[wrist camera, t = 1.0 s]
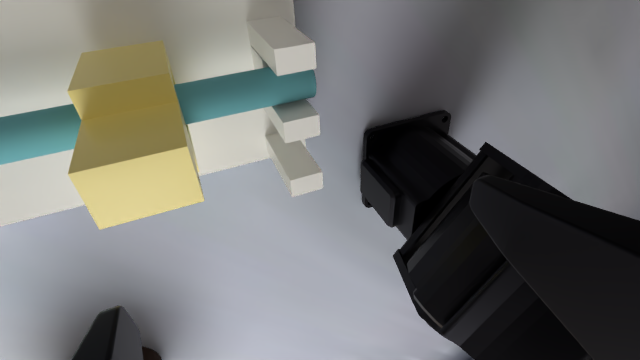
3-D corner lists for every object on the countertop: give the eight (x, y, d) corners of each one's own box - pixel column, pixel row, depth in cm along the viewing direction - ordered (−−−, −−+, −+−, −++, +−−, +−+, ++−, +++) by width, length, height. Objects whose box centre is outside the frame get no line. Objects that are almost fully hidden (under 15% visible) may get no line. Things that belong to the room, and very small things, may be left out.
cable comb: (279, -78, 16) (329, -72, 12) (300, 140, 23) (336, 192, 19) (-542, -11, 10) (-1020, 47, 6) (-184, 260, 17) (-290, 376, 12)
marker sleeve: (162, 40, 15) (177, 114, 10) (188, 126, 18) (212, 224, 12) (81, 52, 14) (48, 140, 9) (120, 141, 17) (112, 253, 11)
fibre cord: (284, 20, 17) (325, 50, 14) (291, 91, 20) (328, 135, 16) (-398, 125, 12) (-654, 229, 8) (-278, 211, 14) (-434, 325, 10)
